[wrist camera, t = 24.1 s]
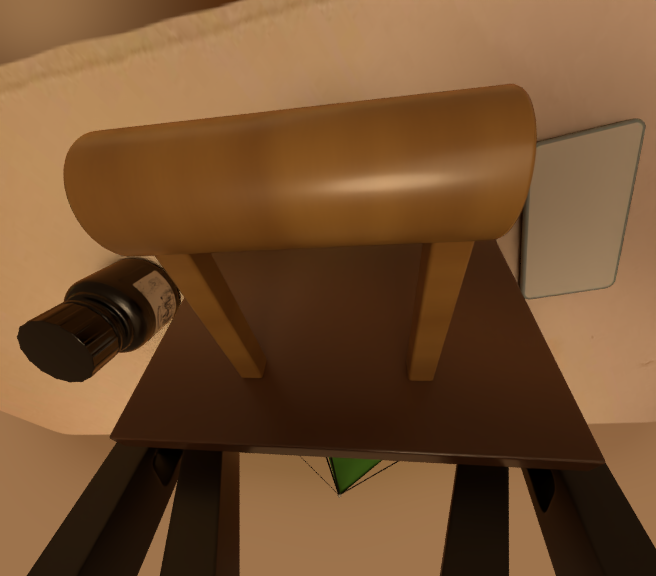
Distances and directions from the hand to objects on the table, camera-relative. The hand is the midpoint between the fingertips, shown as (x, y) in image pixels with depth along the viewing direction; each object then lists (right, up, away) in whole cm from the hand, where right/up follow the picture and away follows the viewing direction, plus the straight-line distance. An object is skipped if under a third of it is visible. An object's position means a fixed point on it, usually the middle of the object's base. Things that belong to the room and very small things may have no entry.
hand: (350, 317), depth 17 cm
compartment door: (-1, +3, -4) cm, 5 cm away
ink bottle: (-24, +2, +19) cm, 30 cm away
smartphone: (+21, +8, +10) cm, 25 cm away
